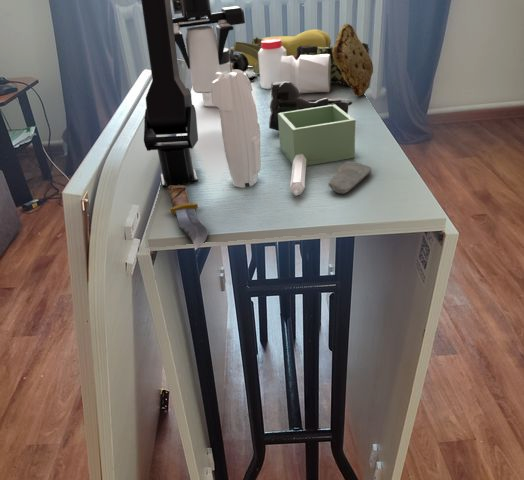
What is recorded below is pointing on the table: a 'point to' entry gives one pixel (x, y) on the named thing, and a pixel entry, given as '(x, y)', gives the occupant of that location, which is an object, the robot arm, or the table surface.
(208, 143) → the table surface
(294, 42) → the toy
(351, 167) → the stone
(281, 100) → the cat figurine
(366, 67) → the pastry
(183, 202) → the knife
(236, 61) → the toy
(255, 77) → the pen
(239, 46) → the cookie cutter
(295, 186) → the marker
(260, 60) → the pill bottle
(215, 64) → the can
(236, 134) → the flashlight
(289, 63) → the vase
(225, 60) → the jar
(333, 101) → the pen
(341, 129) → the bin
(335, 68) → the toy car
